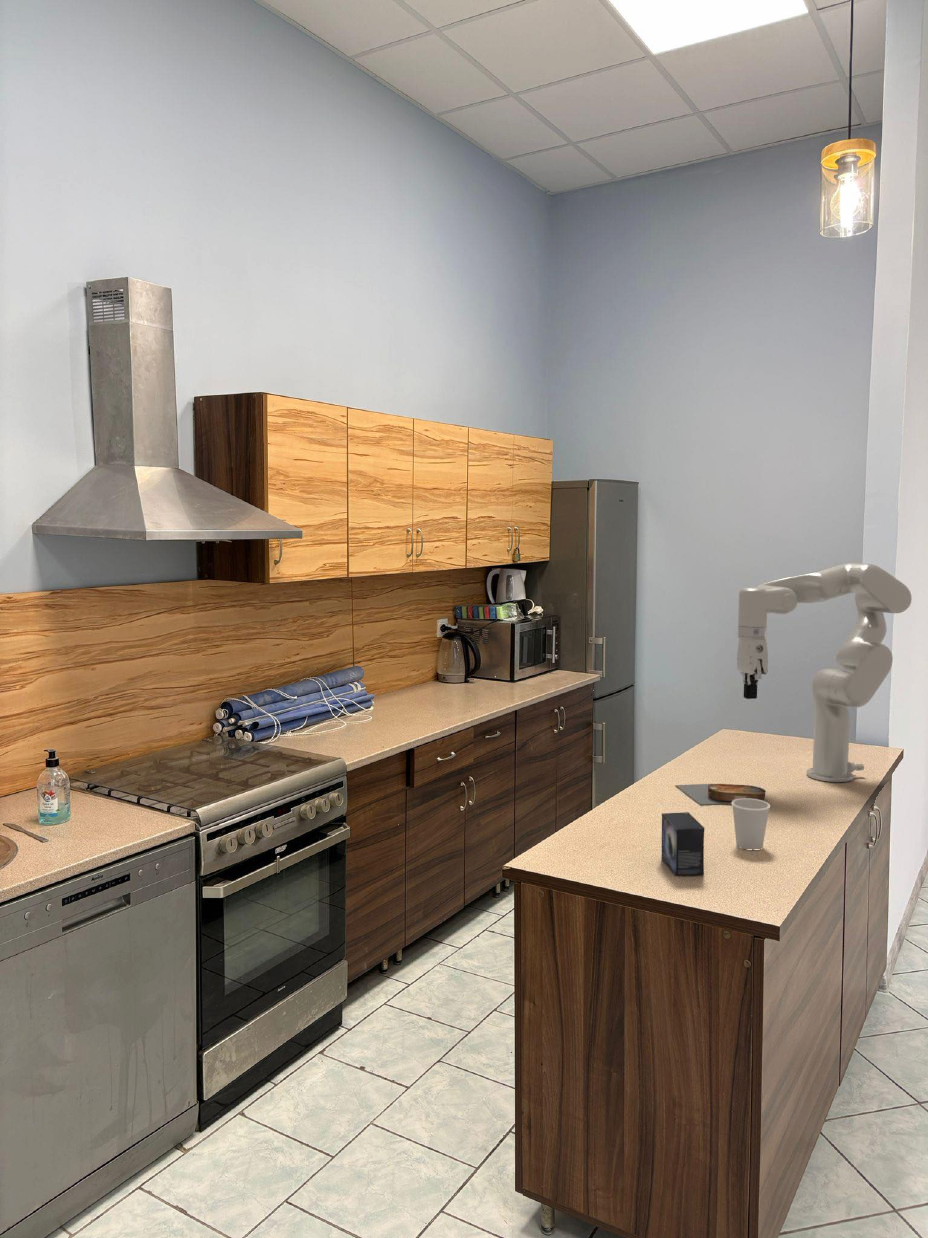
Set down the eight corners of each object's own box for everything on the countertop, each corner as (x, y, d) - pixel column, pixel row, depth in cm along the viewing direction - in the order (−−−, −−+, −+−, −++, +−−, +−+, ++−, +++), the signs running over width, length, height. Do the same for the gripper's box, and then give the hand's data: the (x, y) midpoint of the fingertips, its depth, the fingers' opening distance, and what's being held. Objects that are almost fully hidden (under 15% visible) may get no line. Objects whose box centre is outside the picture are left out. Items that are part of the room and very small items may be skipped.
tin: (760, 785, 245) (770, 792, 236) (760, 797, 245) (769, 804, 236) (704, 782, 245) (712, 789, 237) (704, 794, 245) (711, 801, 237)
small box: (659, 859, 197) (659, 812, 196) (688, 858, 198) (689, 811, 197) (674, 877, 187) (675, 828, 186) (704, 876, 187) (706, 827, 186)
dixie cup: (763, 855, 199) (765, 811, 198) (725, 848, 203) (727, 805, 202) (772, 844, 206) (774, 801, 205) (736, 838, 210) (737, 796, 210)
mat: (712, 784, 255) (712, 783, 255) (740, 803, 237) (740, 802, 237) (675, 786, 253) (675, 785, 253) (700, 805, 235) (700, 804, 235)
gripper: (777, 635, 242) (775, 703, 244) (752, 629, 257) (751, 693, 258) (751, 635, 241) (749, 703, 243) (727, 629, 256) (726, 693, 257)
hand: (750, 698), depth 251 cm, fingers closed
